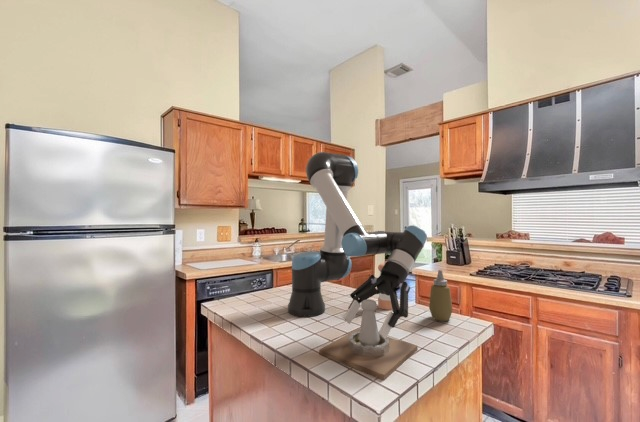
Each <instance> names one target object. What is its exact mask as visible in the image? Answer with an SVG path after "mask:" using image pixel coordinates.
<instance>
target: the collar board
mask: <svg viewBox="0 0 640 422" xmlns="http://www.w3.org/2000/svg"><path fill="white" fill-rule="evenodd" d="M359 334H360V327H359V328H356V329H355V330H353V331H351V332H348V333H347V334H344V335H343V336H340V338H338V339H336V340H334V341H333V342H332V341H331V343H329V344H326V346H323V347H321V348H320V349H319V350H318V355H320V356H323V357H325V358H327V359H330V360H333V361H335V362H337V363H340V364H343V365H346V366H348V367H350V368H353V369H355V370H358V371H361V372H363V373H365V374H368V375H370V376H373V377H375V378H377V379H381V380H382V381H385V380H387V378H389V377H390V376H391V375H392V374H393V373H394V372H395V371H396V370H397V369H399V367H401V366H402V364H404V362H406V361H408V360H409V358H410V357H412V355H414V354H415V352H418V344H413V343H411V342H406V341H403V340H399V339H397V338H393V337H389V336H387V337H386V339H383V338H382V336H381V335H380V334H379V338H380V340H379V344H378V345H376V346H366V345H362V344H360V341H359Z"/></svg>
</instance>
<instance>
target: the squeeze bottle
mask: <svg viewBox="0 0 640 422" xmlns="http://www.w3.org/2000/svg"><path fill="white" fill-rule="evenodd" d="M430 287H431V288H430V296H429V304H428V305H429V306H428V308H429V312H430V314H431V317H432V319H433V320H436V321H439V322H447V321H450V319H451V315H452V314H453V304H452V294H451V288H450V286H449V285H448V280H447V279H445V276H444V273H443V269H439V270H438V272H437V276H436V278H434V279H433V284H432V285H431V286H430Z"/></svg>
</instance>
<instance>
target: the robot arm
mask: <svg viewBox="0 0 640 422" xmlns="http://www.w3.org/2000/svg"><path fill="white" fill-rule="evenodd" d="M305 172H306V177H307V178H306V179H307V180H308V182H309V183H310V186H311V187H313V188H315V189H316V191H317V192H318V194H319V196H320V198H321V200H322V202H323V203H324V205H325V207H326V209H325V222H324V223H325V224H324V225H325V227H324V241H323V245H322V246H320V249H319V251H317V250H316V251H315V250H314V251H313V250H311V251H303V252H299V253H297V254H295V255H293V257H292V259H291V287H292V288H291V295H290V297H289V301H288V304H287V313H289V314H290V315H292V316H296V317H314V316H319V315H321V314H324V313H326V304H325V302H324V299H323V295H322V292H321V291H322V289H321V287H322V286H321V285H322V283H326V282H330V281H331V282H332V281H340V280H342V279H344V278H346V277H347V276H348V275H349V274H350V273H351V270H352V264H353V263H352V259H351V258H352V257H355V258H356V257H357V258H361V257H363V256H364V257H365V256H370V255H371V256H372V255H373V256H374V255H381V254H383V255H384V254H390V255H389V256H388V258H387V259H386V261H387V262H386V263H385V262H384V263H385V265H384V266H383V268H382V270H381V275H380V274H379V276H378V277H376V276H375V275H374V274H371V275H370V276H369V277H368V278H367V279H366V281H364V282H363V283H362V284H360V286H358V287H357V288H356V289H355V290H354V291H352V292H351V293H350V294H349V297H351V299H352V301H351V302H350V305H349V306H348V309H347V312H346V313H345V315H344V316H343V320H344V321H345V322H346V323H347V324H348V325H349V324H351V322H352V321H353V320H354V318H355V316H356V315H357V313H358V311H359V309H360V307H361V303H362V301H363V300H366V299H370V298H372V297H373V296H374V295H379V293H381V294H386V295H388V296H389V295H390V300H391V304H392V310H391V311H389V312H388V314H387V315H386V318H385V320H384V322H383V323H382V325H381V326H380V329H378V333H379V334H380V335H381V336H382V338H383V339H386V337H388V336H389V334H390V332H391V329H392V328H395V327H396V325H397V322H398V321H399V319H400V318H408V316H409V292H410V290H411V287H410V285H409V284H408V283H407V281H406V279H407V278H408V276H409V273H410V272H411V270H412V268H413V267H414V264H415V262H416V261H417V259H418V257H419V255H420V253H421V252H422V250H423V249H424V248H425V247H424V246H425V244H426V241H427V240H428V236H427V235H428V234H427V233H426V231H425V230H424V229H422V228H421V227H420V226H417V225H408V226H407V227H405V229H404V230H403V231H399V232H398V231H395V232H394V231H385V230H378V231H377V230H376V231H370V232H367V231H366V228H365V227H364V226H363V224H362V223H361V221H360V219H359V218H358V216H357V215H356V213H355V212H354V210H353V208H352V207H351V205H350V203H349V202H348V191H349V190H350V189H351V188H352V183H353V184H354V182H355V181H356V179H357V178H358V175H359V165H358V163H357V161H355V159H354V158H353V157H351V156H348V155H345V154H338V153H331V152H327V151H326V152H325V151H321V152H320V151H319V152H316V153H314V154H313V155H312V156H311V157H310V158H309V160H308V162H307V163H306V168H305ZM397 291H399V300H398V293H397Z"/></svg>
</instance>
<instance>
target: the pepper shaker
mask: <svg viewBox="0 0 640 422" xmlns="http://www.w3.org/2000/svg"><path fill="white" fill-rule="evenodd" d="M386 262H387V260H386V261H384V262H382V263H380V264H379V265H378V267H377V269H378V271H379V276H380V275H381V270H382V268H383V266H384V265H385V263H386ZM377 307H378V309H382V310H388V311H389V310H390V311H392V310H393V309H392V304H391V300H390V295H389V296H388V295H386V294H381V293H379V294H378V297H377Z"/></svg>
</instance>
